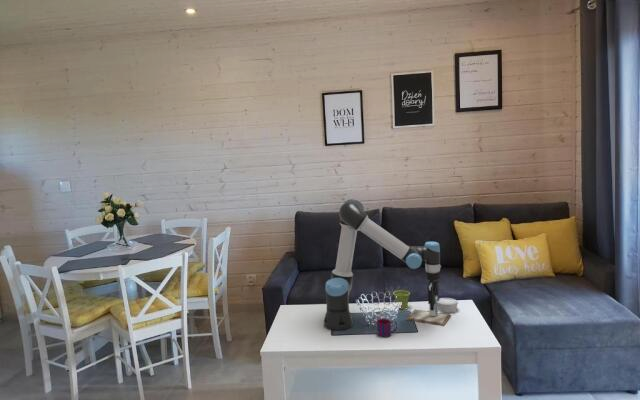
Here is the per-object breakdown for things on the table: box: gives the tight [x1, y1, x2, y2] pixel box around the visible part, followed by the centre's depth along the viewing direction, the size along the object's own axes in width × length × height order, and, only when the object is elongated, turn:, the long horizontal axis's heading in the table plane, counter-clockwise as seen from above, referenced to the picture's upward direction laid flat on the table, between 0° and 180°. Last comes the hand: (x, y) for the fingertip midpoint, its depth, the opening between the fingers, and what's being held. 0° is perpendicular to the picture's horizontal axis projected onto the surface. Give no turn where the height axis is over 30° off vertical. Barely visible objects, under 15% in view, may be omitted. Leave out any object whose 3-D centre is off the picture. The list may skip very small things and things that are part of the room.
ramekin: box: [438, 297, 459, 314], centre depth 244 cm, size 11×11×5 cm
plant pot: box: [392, 290, 411, 310], centre depth 251 cm, size 9×9×9 cm
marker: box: [428, 295, 439, 315], centre depth 235 cm, size 3×3×10 cm
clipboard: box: [405, 309, 452, 327], centre depth 234 cm, size 20×15×1 cm
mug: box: [376, 318, 398, 338], centre depth 216 cm, size 7×10×7 cm
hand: (433, 314), depth 235 cm, fingers closed on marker, 3 cm apart
